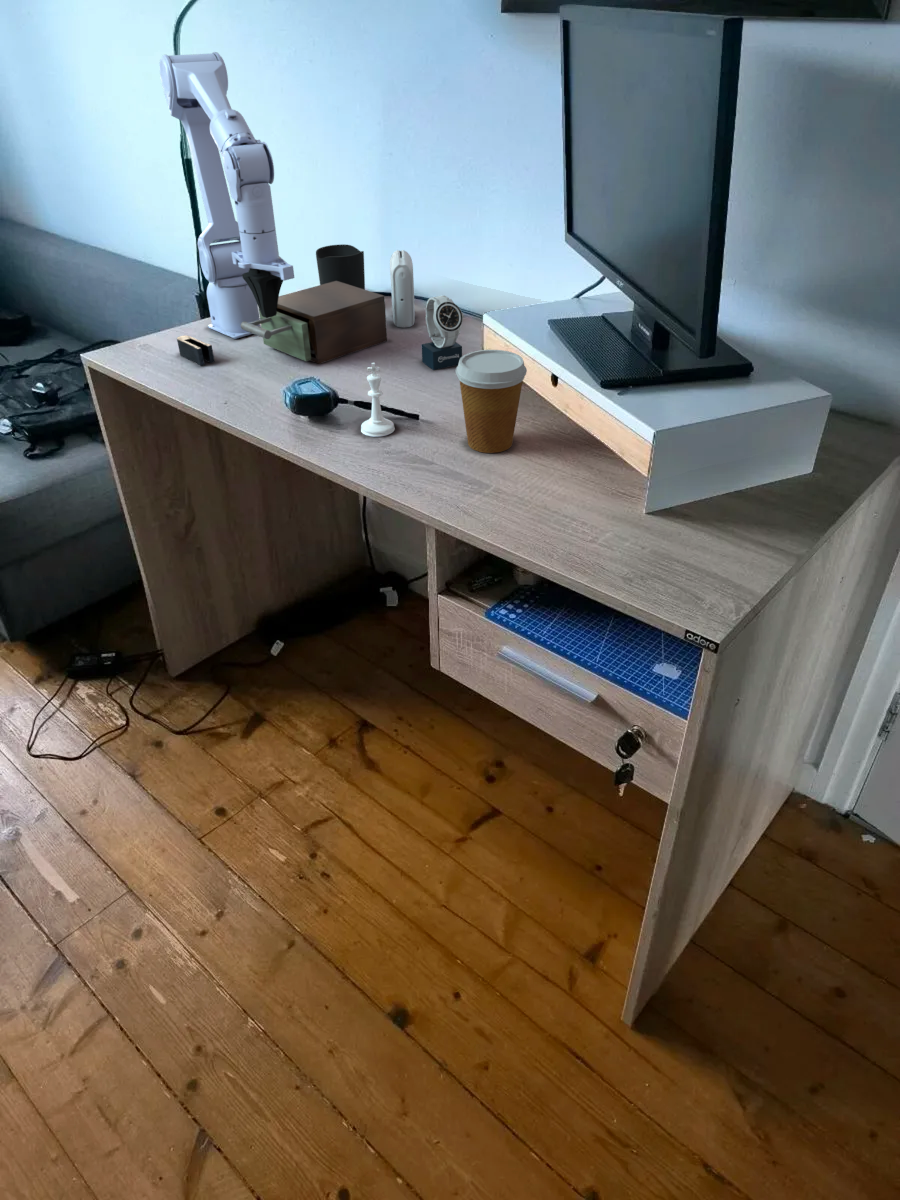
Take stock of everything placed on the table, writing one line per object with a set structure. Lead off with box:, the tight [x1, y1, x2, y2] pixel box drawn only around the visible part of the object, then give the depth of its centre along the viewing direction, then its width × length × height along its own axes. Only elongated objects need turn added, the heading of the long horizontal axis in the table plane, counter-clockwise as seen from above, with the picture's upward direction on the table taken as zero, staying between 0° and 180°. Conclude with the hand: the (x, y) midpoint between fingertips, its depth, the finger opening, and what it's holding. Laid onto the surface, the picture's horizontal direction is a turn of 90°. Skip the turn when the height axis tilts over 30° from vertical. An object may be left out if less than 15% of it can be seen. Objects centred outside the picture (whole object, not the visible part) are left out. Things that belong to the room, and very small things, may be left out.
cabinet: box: [277, 281, 388, 364], centre depth 152 cm, size 16×14×8 cm
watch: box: [421, 295, 465, 371], centre depth 142 cm, size 6×8×11 cm
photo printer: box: [389, 249, 416, 328], centre depth 161 cm, size 10×4×12 cm, turn 4°
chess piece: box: [360, 362, 396, 438], centre depth 122 cm, size 5×5×10 cm
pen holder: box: [315, 243, 366, 290], centre depth 171 cm, size 9×9×10 cm
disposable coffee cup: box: [455, 349, 528, 454], centre depth 117 cm, size 10×10×12 cm
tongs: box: [176, 335, 215, 367], centre depth 148 cm, size 8×3×3 cm, turn 45°
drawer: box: [241, 308, 315, 362], centre depth 149 cm, size 20×12×6 cm, turn 135°
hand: (269, 315), depth 143 cm, fingers closed
